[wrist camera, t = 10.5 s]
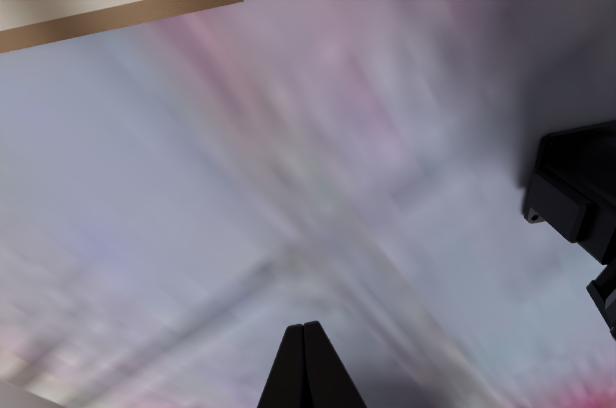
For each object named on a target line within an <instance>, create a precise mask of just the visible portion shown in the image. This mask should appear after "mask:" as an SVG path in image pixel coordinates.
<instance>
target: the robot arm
mask: <svg viewBox="0 0 616 408" xmlns="http://www.w3.org/2000/svg"><path fill="white" fill-rule="evenodd" d="M551 141H552V143H551V144H549V143H550V142H551ZM532 216H533V217H532ZM524 218H525V219H526V220H527V221H528V222H529V223H538V222H544V221H547V222H548V223H549V224H550V225H551V226H552V227H553V228H554V229H555V230H556V231H558V232H559V233H560V234H561V235H562V236H563V237H564V238H565V239H566V240H568V241H569V242H570V243H578V244H579V245H580V246H581V247H582V248H584V249H585V250H586V251H587V252H588V253H589V254H590V255H591V256H593V257H594V258H595V259H596V260H597V261H598V262H599V263H601V264H602V265H607V264H608V265H607V266H606V267H605V269H604V270H603V271H602V272H601V273H600V275H599V276H598V277H597V278H596V279H595V280H592V281H591V282H590V284H589V285H588V286H587V287H586V289H587V291H588V292H589V294H590V296H591V298H592V299H593V301H594V303H595V304H596V306H597V308H598V310H599V311H600V313H601V315H602V316H603V318H604V320H605V322H606V323H607V325H608V327H609V328H610V333H611V335H612V337H613V339H614V340H615V341H616V121H611V122H606V123H601V124H596V125H590V126H585V127H580V128H575V129H570V130H565V131H560V132H555V133H550V134H548V135H546V136H545V137H543V139H542V140H541V142H540V146H539V151H538V155H537V160H536V164H535V169H534V173H533V177H532V182H531V186H530V191H529V195H528V200H527V205H526V210H525V214H524ZM257 408H367V406H366V404H365V402H364V401H363V399H362V397H361V395H360V394H359V392H358V390H357V388H356V386H355V385H354V383H353V381H352V379H351V378H350V376H349V374H348V372H347V370H346V369H345V367H344V365H343V363H342V362H341V360H340V358H339V356H338V354H337V353H336V351H335V349H334V347H333V346H332V344H331V342H330V340H329V338H328V337H327V335H326V333H325V331H324V330H323V328H322V326H321V324H320V323H319V322H318V321H312V322H307V323H305V324H304V325H302V324H296V325H291V326H288V327H287V329H286V331H285V333H284V336H283V339H282V342H281V344H280V347H279V350H278V352H277V355H276V358H275V360H274V363H273V366H272V368H271V371H270V374H269V376H268V379H267V382H266V385H265V387H264V390H263V393H262V395H261V398H260V401H259V403H258V406H257Z"/></svg>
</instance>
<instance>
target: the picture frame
mask: <svg viewBox="0 0 616 408" xmlns="http://www.w3.org/2000/svg"><path fill="white" fill-rule="evenodd" d="M243 1H244V0H0V53H4V52H9V51H14V50H18V49H23V48H28V47H32V46H37V45H42V44H46V43H51V42H56V41H60V40H65V39H70V38H74V37H79V36H84V35H88V34H93V33H98V32H102V31H107V30H112V29H116V28H121V27H126V26H131V25H135V24H140V23H145V22H149V21H154V20H159V19H163V18H168V17H173V16H177V15H182V14H187V13H191V12H196V11H201V10H205V9H210V8H215V7H219V6H224V5H229V4H233V3H238V2H243Z"/></svg>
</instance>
